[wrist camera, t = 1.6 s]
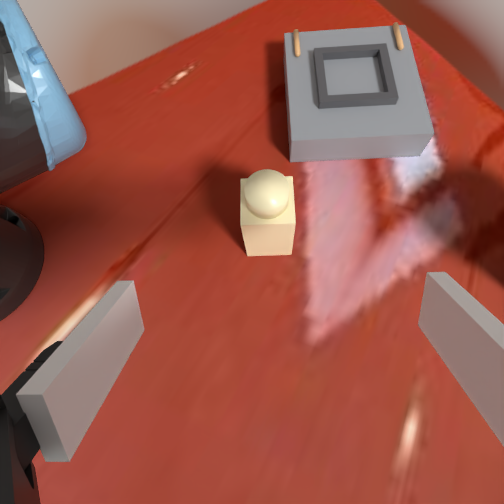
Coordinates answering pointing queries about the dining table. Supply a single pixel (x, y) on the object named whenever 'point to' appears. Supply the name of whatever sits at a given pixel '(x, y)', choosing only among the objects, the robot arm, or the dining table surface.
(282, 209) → the dome-topped cream pillar
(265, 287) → the dining table surface
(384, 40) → the ball-topped post base
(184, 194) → the dining table surface
